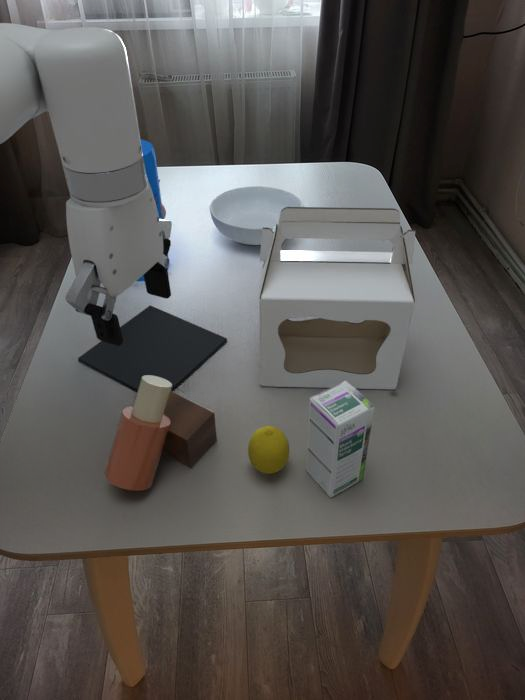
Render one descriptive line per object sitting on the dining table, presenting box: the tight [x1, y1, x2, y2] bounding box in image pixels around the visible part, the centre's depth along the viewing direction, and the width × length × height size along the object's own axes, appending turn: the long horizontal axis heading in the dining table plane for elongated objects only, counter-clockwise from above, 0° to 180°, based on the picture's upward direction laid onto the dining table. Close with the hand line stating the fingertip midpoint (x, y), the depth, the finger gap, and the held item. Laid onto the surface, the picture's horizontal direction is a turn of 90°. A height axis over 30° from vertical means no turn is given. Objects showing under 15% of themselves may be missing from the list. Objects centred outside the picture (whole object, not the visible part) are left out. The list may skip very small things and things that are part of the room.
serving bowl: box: [209, 185, 305, 246], centre depth 125 cm, size 21×21×7 cm
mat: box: [77, 305, 228, 393], centre depth 96 cm, size 18×18×1 cm
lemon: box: [247, 425, 290, 475], centre depth 75 cm, size 6×6×8 cm
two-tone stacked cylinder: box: [104, 375, 172, 491], centre depth 73 cm, size 6×12×14 cm, turn 147°
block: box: [162, 391, 218, 469], centre depth 79 cm, size 10×6×6 cm, turn 57°
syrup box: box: [305, 381, 375, 498], centre depth 72 cm, size 6×6×14 cm
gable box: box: [258, 206, 416, 390], centre depth 85 cm, size 22×13×28 cm, turn 88°
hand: (136, 317), depth 65 cm, fingers open, 9 cm apart
